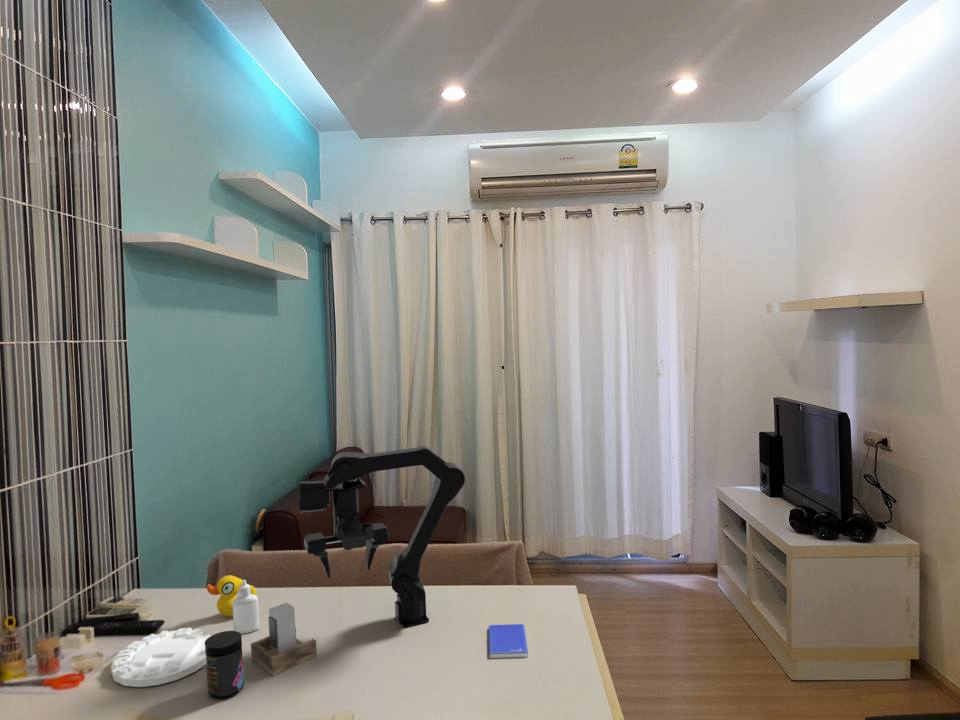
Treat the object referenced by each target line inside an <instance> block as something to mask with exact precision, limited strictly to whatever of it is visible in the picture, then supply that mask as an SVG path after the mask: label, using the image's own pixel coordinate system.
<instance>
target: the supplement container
mask: <svg viewBox="0 0 960 720" xmlns="http://www.w3.org/2000/svg"><path fill="white" fill-rule="evenodd" d="M242 636H243V635H242V634H241V633H239V632H237V631H234V630H226V631H220V632H216V633H215V634H211V636H210V637H209V638H208V639H206V641H205V657H206V664H205V670H206V671H205V672H206V686H207V687H206V688H207V694H208V696H209V698H211V699H214V700H226V699H230V698H232V697H234V696H236V695H237V694H239V693H240V692H241V691H242V689H243V688H244V685H245V679H244V677H245V676H244V658H243V640H242V638H243V637H242Z"/></svg>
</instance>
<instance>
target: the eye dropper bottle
mask: <svg viewBox="0 0 960 720" xmlns="http://www.w3.org/2000/svg"><path fill="white" fill-rule="evenodd" d="M242 580H243V581H242V585H241V586H240V587H239V592H238V593H239V594H238V595H237V596H238V597H236V598H235V599H234V600H233V616H232V621H233V622H232V623H233V631H237V632H239V633H241V635H243V634H244V633H246V634H250V633H249V632H251V633H254V632H256V630H257V631H258V630H259V629H260V611H259V598H258V597H259V596H258V595H257V596H256V595H253V594H250V585H251V584H248V583H247V580H246V579H242ZM253 631H254V632H253ZM244 635H245V634H244Z"/></svg>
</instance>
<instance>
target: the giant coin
mask: <svg viewBox="0 0 960 720" xmlns="http://www.w3.org/2000/svg"><path fill="white" fill-rule="evenodd" d="M210 636H212V634H211V633H208V632H206V631H205V629H202V628H201V629H199V628H195V629H192V627H182V628H178V630H173V631H172V630H171V631H168V630H162V631H160V633H158V634H155V633H151V634H149V635H147V636H144V637H142V639H141V640H134V641H132V642H131V643H130V644H129V645H127V646H126V647H125V649H123V650H119V652H118V654H117V656H115V658H114V659H113V660H112V663H111V665H110V671H111V672H110V673H111V676H112V678H113V681H114V682H115V683H118V684H120V685H122V686H125V687H135V688H145V687H152V686H161V685H163V684H167V683H171V682H175V681H177V680H180V679H182V678H184V677H186V676H189V675H191V674H193V673H195V672H197V671H198V670H199V669H201V668H202V667H204V666H206V657H205V641H206V639H208V638H209V637H210Z"/></svg>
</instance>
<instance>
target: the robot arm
mask: <svg viewBox="0 0 960 720" xmlns="http://www.w3.org/2000/svg"><path fill="white" fill-rule="evenodd" d="M416 466H423V467H424V468H426V469H427V470H428V471H429V472H430V473H431V474H432V475H434V476H435V477H434V482H433V486H432V490H431V491H432V493H431V496H430V498H429V500H428V503H427V505H426V506H425V508H424V510H423V512H422V514H421V517H420V518H419V521H418V523H417V525H416V527H415V529H414V531H413V533H412V535H411V538H410V539H409V541H408V543H407V545H406V548H405V549H404V550H403V551H402V552H401V553H399V552H398V551H395V552H394V554H393V558H392V560H391V562H390V563H389V564H388V566H387V567H388V577H389V581H390V586H391V588H392V590H393V592H394V593H396V601H394V613H395V614H394V616H395V619H396V620H397V622H399V624H400V625H401V627H402V628H408V627H411V626H415V625H419V624H423V623H424V624H425V623H427V622H430V618H429V617H428V616H427V597H426V596H427V595H426V594H427V593H426V590H425V588H424V584H423V581H422V579H421V577H420V576H419V574H420V567H421V564H422V563H421V562H422V559H423V556H424V554H425V552H426V550H427V547H428V546H429V543H430V541H431V539H432V537H433V536H434V533H435V530H436V529H437V527H438V525H439V523H440V520H441V518H442V516H443V515H444V512H445V511H446V508H447V506H448V505H449V504H450V503H451V502H452V501H453V500H454V499H455V498H456V497H457V495H458V494H459V493H460V491H461V490H462V488H463V487H464V485H465V482H466V476H465V474H464V472H463V470H462V469H461V468H460V467H459V466H458V465H457V464H456V463H454V462H451V461H450V462H449V461H447V462H446V461H445V460H444V459H443V458H441V457H440V456H439V455H437V454H435V452H433V451H431V449H430V448H429V447H428V446H425V445H419V446H417V447H412V448H403V449H396V450H390V451H388V450H387V451H382V452H375V453H366V452H365V453H364V452H363V453H362V452H358V451H356V452H355V451H352V452H351V451H342V452H338V453H337V454H335V456H334V457H333V458H332V460H331V468H330V469H329V470H328V473H326V474H325V477H324V479H323V480H317V481H316V480H315V481H308V480H307V481H306V480H305V481H300V482H299V498H298V507H299V513H310V512H320V511H321V512H322V511H325V510H326V509H327V508H328V506H331V499H330V497H331V496H330V495H331V493H330V492H332V515H333V535H327V536H324V535H323V533H322V532H316V533H309V534H306V535H305V536H304V537H303V538H304V539H303V546H304V549H305V550H306V552H307V553H308V555H313V556H314V557H318V558H319V559H320V562H321V564H322V566H323V570H324V572H325V574H326V577H327V579H330V578H331V572H330V571H331V570H330V565H329V557H328V554H329V553H328V551H327V546H329V545H331V546H332V545H336V544H341V545H342V548H343V549H344V550H345V551H351V550H352V549H353V550H354V549H362V548H364V547H365V566H366V568H365V569H366V571H370V569H371V565H372V563H373V560H374V556H375V554H376V551H377V550H378V548H379V547H380V546H381V545H384V543H385V542H386V541H389V540H390V531H389V529H388V528H387V526H385V524H383V523H382V522H377V523H372V522H368V523H362V521H361V516H360V513H359V509H360V508H359V490H362V489H366V487H367V484H366V482H365V481H364V480H362V477H365V476H366V475H368V474H371V473H374V472H382V471H389V470H394V469H395V470H396V469H402V468H410V467H416Z"/></svg>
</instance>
